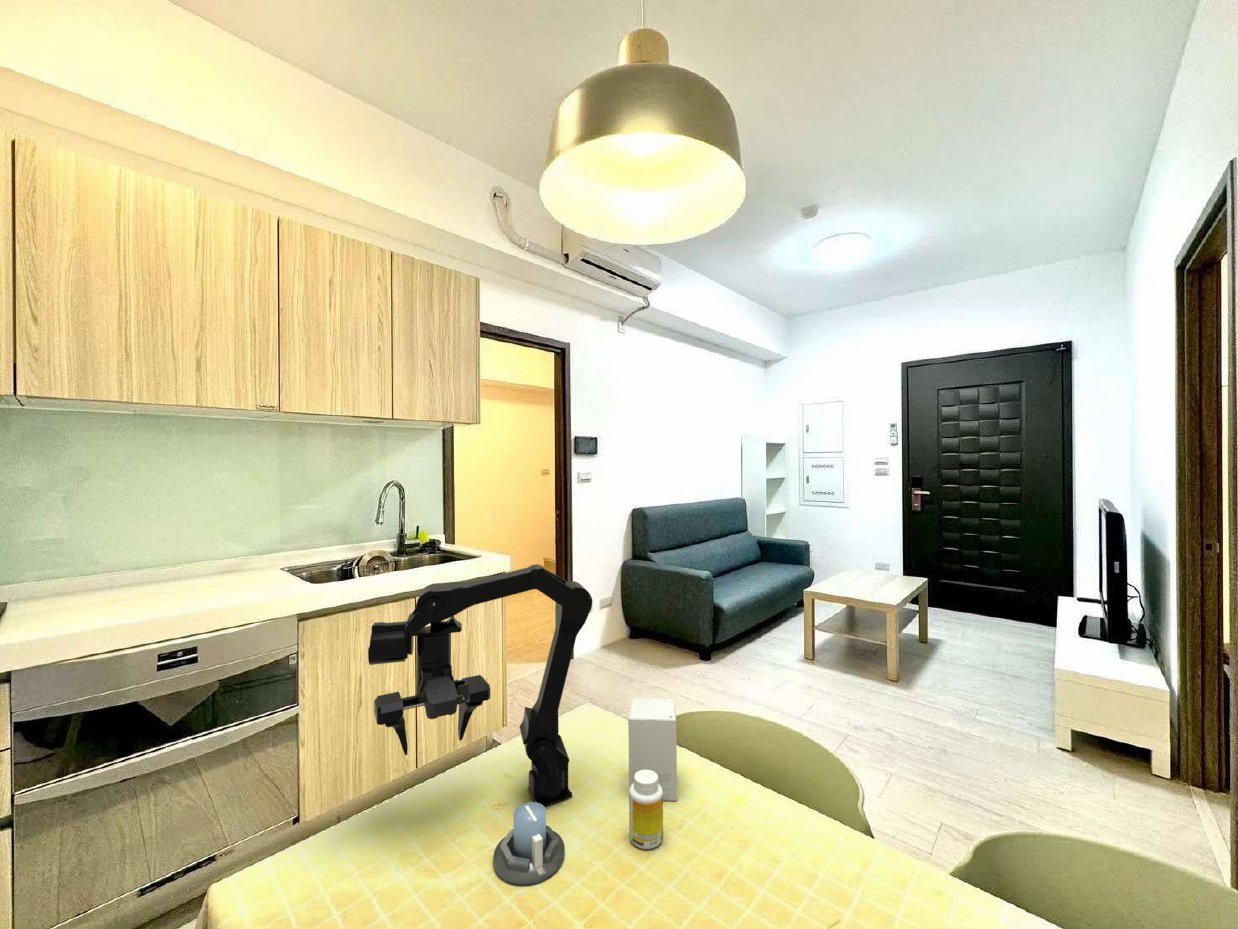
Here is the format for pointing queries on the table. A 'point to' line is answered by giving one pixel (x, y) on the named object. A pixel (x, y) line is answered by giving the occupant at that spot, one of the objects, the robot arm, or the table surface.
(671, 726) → the supplement box
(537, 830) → the knob
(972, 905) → the table surface
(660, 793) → the supplement bottle
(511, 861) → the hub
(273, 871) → the table surface
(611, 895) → the table surface
